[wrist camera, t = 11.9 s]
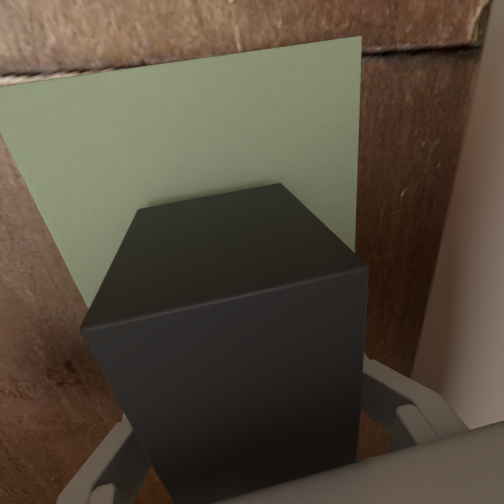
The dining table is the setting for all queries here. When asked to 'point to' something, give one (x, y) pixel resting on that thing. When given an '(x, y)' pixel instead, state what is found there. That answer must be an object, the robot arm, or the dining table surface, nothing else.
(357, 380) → the black gadget
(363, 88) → the dining table surface
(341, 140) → the sage mat
